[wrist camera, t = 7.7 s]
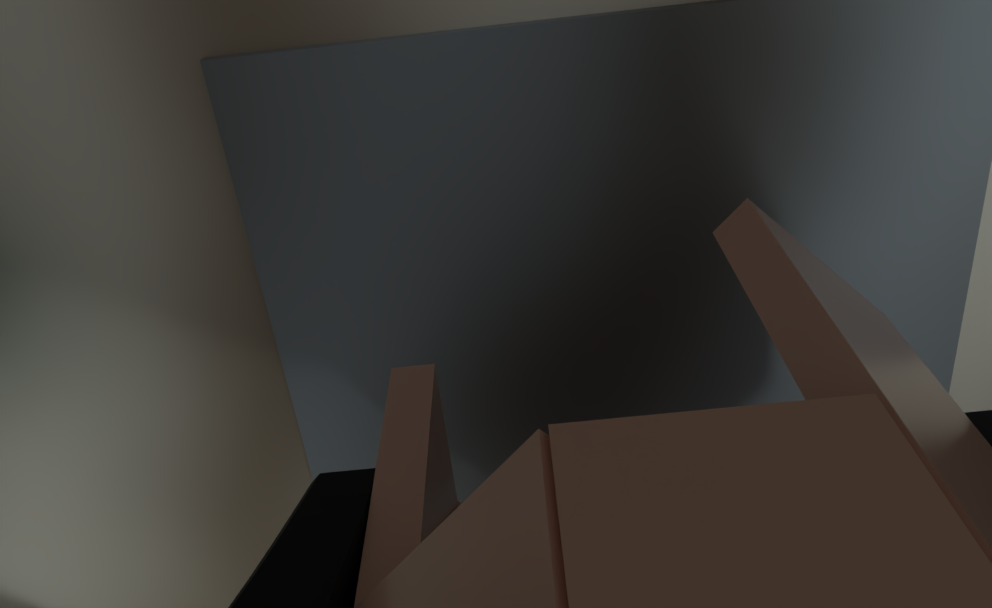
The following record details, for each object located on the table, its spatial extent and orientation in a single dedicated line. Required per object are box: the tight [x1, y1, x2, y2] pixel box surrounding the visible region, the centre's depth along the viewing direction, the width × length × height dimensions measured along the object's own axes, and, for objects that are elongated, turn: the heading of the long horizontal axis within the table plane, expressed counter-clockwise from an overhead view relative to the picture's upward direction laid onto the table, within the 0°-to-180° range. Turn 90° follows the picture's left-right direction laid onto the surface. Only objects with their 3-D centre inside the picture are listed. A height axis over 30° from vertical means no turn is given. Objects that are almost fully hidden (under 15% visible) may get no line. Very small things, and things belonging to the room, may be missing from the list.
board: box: [0, 0, 992, 608], centre depth 14 cm, size 22×19×1 cm
